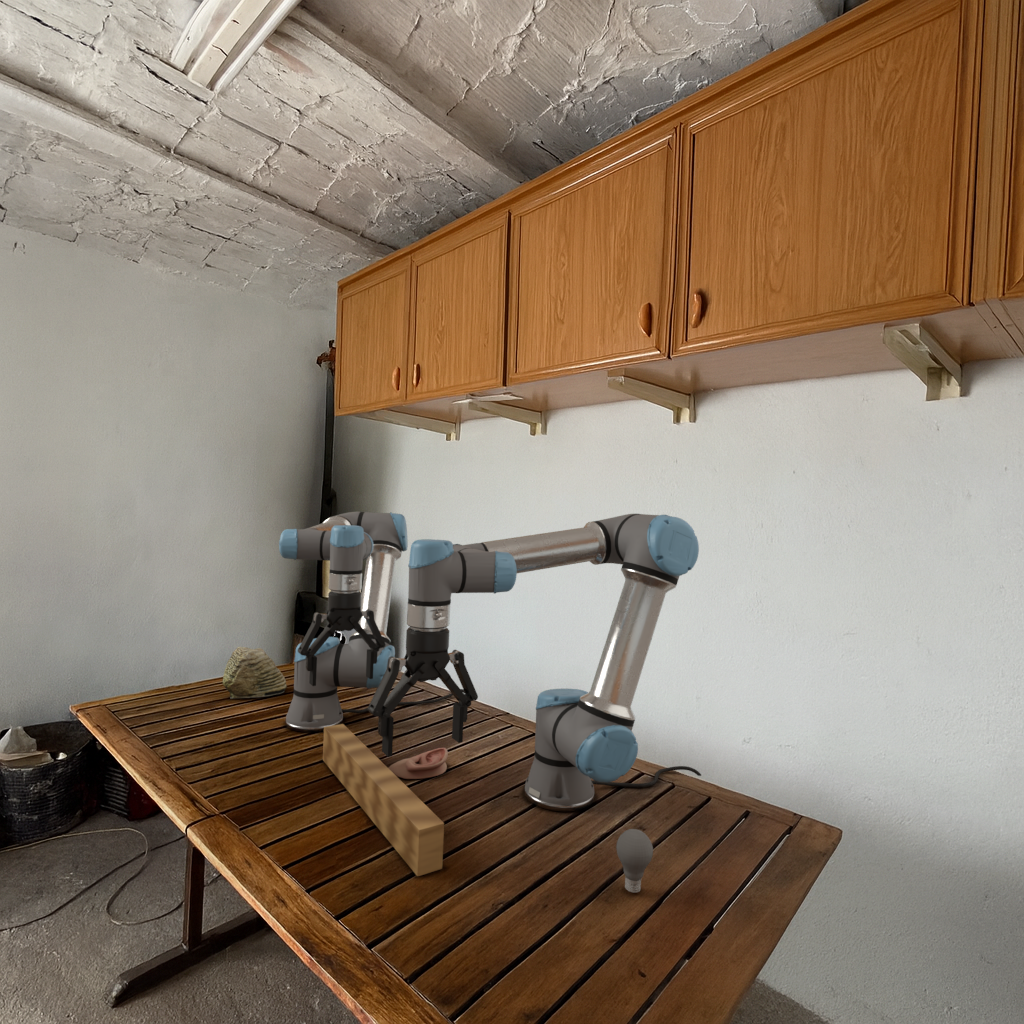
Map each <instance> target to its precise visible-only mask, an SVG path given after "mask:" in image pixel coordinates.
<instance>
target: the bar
mask: <svg viewBox="0 0 1024 1024" xmlns="http://www.w3.org/2000/svg"><path fill="white" fill-rule="evenodd" d="M322 746H323V748H322V761H323V762H324V763H325V765H326V766H327V767H328V769H329V770H330V771H331V772H332V773H333V775H334V776H335V777H336V778H337V780H338V781H339V782H340V783H341V784H342V786H343V787H344V788H345V790H346V791H347V792H348V793H349V794H350V795H351V797H352V798H353V799H354V801H355V802H356V803H357V804H358V806H360V808H361V809H362V810H363V812H364V813H365V814H366V815H367V816H368V818H369V819H370V820H371V821H372V823H373V824H374V825H375V826H376V828H377V829H378V830H379V831H380V833H381V834H382V835H383V836H384V837H385V839H386V840H387V841H388V842H389V844H390V845H391V846H392V847H393V848H394V850H395V851H396V852H397V853H398V854H399V856H400V857H401V859H402V860H403V861H404V862H405V863H406V865H407V866H408V867H409V868H410V869H411V870H412V872H413V873H414V875H415V876H416V877H421V876H423V875H427V874H430V873H433V872H437V871H439V870H442V869H443V864H444V863H443V862H444V861H443V860H444V859H443V858H444V837H445V836H444V834H445V822H443V820H441V818H440V817H438V815H436V813H435V812H433V810H431V808H429V806H428V805H426V804H425V803H424V802H423V801H422V800H421V799H420V797H418V796H417V795H416V794H415V793H414V792H413V791H412V790H411V789H410V788H409V787H408V786H407V785H406V784H405V783H404V782H403V781H402V780H401V779H400V777H397V776H396V775H395V774H394V773H393V772H392V771H391V770H390V769H389V768H388V767H389V766H387V765H386V764H384V763H383V762H382V761H381V759H380V758H378V756H377V755H375V754H374V753H373V752H372V750H371V749H370V748H369V747H367V746H366V745H365V744H364V743H363V741H361V739H359V738H358V736H356V735H355V734H354V733H353V732H352V731H351V730H350V729H349V728H348V727H347V726H346V725H345V724H344V723H341V724H340V725H333V726H327V727H324V731H323V743H322Z"/></svg>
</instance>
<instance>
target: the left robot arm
mask: <svg viewBox="0 0 1024 1024" xmlns="http://www.w3.org/2000/svg"><path fill="white" fill-rule="evenodd" d="M407 527H408V525H407V521H406V517H405V515H403V514H402V513H396V512H395V513H394V512H371V511H349V512H344V513H340V514H336V515H333V516H330V517H328V518H327V519H325V520H324V521H323V522H322V523H319V524H316V525H313V526H310V527H307V528H302V529H301V528H299V529H298V528H287V529H283V531H282V532H281V534H280V536H279V541H278V550H279V554H280V556H281V557H282V558H283V559H288V560H293V561H297V560H304V561H305V560H307V561H326V562H327V561H329V573H328V574H329V575H328V589H329V592H328V597H327V611H326V613H319V612H318V611H315V612H314V613H313V616H312V622H311V624H310V625H309V628H308V630H307V631H306V634H305V635H304V637H303V639H302V641H301V642H300V643H298V644H297V645H296V648H295V655H294V660H293V662H294V672H293V673H294V674H293V695H292V696H293V697H292V699H291V702H290V704H289V708H288V711H287V713H286V715H285V726H286V728H287V729H289V730H291V731H294V732H295V731H296V732H301V733H316V732H324V727H327V726H333V725H340V724H343V722H344V714H343V713H351V714H353V713H354V714H362V713H363V714H364V713H367V712H369V711H368V707H366V708H364V709H353V708H352V709H350V708H349V709H347V708H342V706H341V702H340V699H339V695H338V687H339V688H362V689H365V688H366V689H369V690H370V689H377V688H378V686H379V684H380V682H381V680H382V678H383V676H384V674H385V672H386V670H387V663H388V658H389V657H391V656H392V657H394V658H396V648H395V646H394V645H392V644H391V642H392V641H391V639H390V637H389V636H388V635H387V629H388V623H389V614H390V606H391V600H392V590H393V582H394V575H395V566H396V561H398V560H399V559H401V557H402V552H406V551H408V545H409V544H408V541H409V540H408V528H407ZM365 560H366V561H365ZM364 561H365V569H364V575H363V565H364V564H363V563H364ZM325 620H326V621H327V622H328V623H327V624H326V626H324V629H323V630H322V631H321V633H320V634H319V635H318V636H317V637H316V634H317V633H318V632H319V629H320V626H321V625H322V623H324V621H325ZM353 630H354V631H355V632H353V633H352V634H351V635H350V636H349V638H348V643H341V641H340V638H339V637H337V636H335V637H334V636H331V635H333V634H334V633H335V632H340V633H341V632H344V631H347V632H352V631H353ZM460 689H461V691H462V692H463V693H464V694H465V692H464V689H463V688H460ZM451 697H454V696H453V694H452V693H451V692H450V693H448V694H446V695H444V696H443V695H442V696H440V697H438V698H434V699H427V700H417V701H416V700H415V701H400V702H399V704H398V705H397V706H408V705H409V706H411V705H412V706H413V705H427V704H434V703H437V702H440V701H443V700H446V699H449V698H451Z"/></svg>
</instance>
